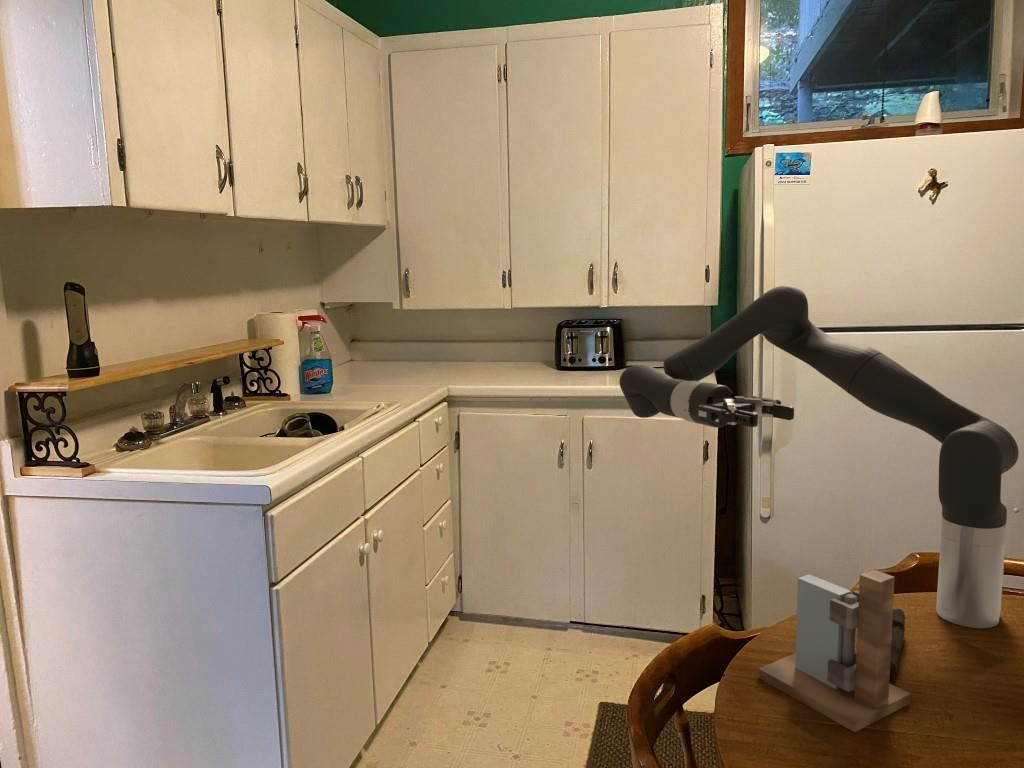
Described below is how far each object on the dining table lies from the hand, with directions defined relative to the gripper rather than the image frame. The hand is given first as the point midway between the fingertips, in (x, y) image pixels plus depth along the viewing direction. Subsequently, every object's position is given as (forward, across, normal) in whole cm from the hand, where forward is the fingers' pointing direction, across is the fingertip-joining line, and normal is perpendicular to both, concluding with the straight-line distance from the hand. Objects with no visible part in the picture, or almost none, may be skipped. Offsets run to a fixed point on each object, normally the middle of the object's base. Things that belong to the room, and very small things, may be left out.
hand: (774, 417), depth 124 cm
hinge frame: (+18, +8, -36) cm, 41 cm away
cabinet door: (+16, +8, -34) cm, 39 cm away
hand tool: (+16, -8, -36) cm, 41 cm away
